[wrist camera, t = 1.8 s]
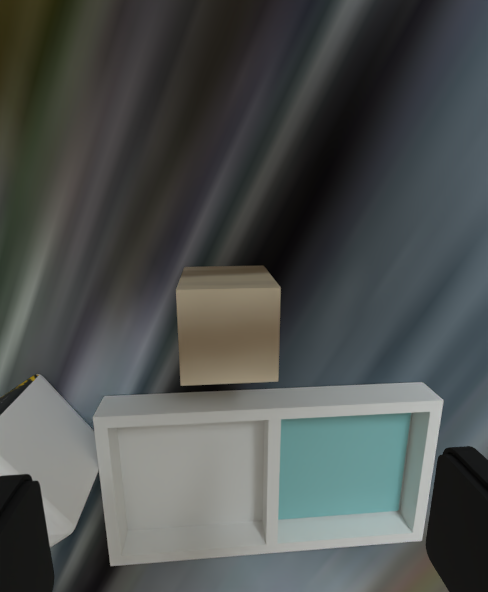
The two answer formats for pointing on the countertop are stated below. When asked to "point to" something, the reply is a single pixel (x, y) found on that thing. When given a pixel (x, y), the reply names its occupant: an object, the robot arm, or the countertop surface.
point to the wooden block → (228, 325)
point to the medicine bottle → (49, 451)
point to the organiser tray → (264, 469)
